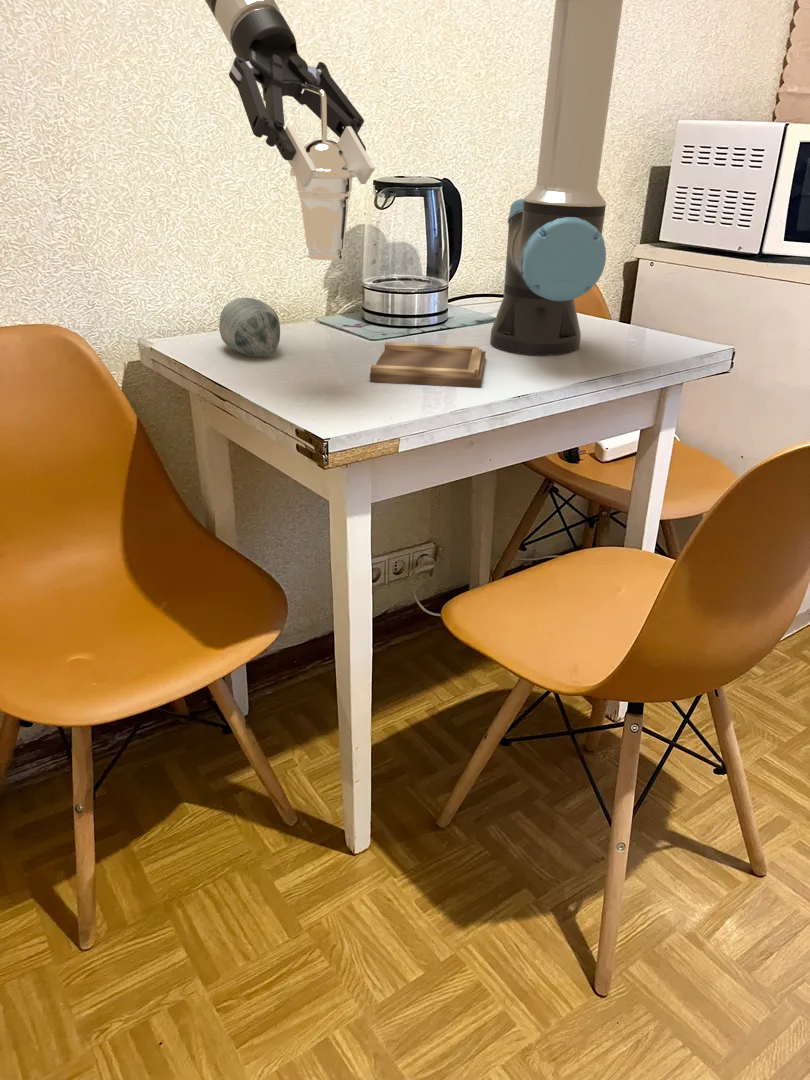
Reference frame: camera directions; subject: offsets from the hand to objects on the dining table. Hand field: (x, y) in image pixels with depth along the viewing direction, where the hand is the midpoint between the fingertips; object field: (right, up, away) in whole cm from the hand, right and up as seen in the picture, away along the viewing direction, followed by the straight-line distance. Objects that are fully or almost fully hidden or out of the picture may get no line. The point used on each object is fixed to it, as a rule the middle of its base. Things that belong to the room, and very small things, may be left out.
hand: (339, 177), depth 100 cm
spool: (-17, -14, +33) cm, 40 cm away
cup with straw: (-2, -8, +7) cm, 10 cm away
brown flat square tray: (+12, -18, +25) cm, 33 cm away
